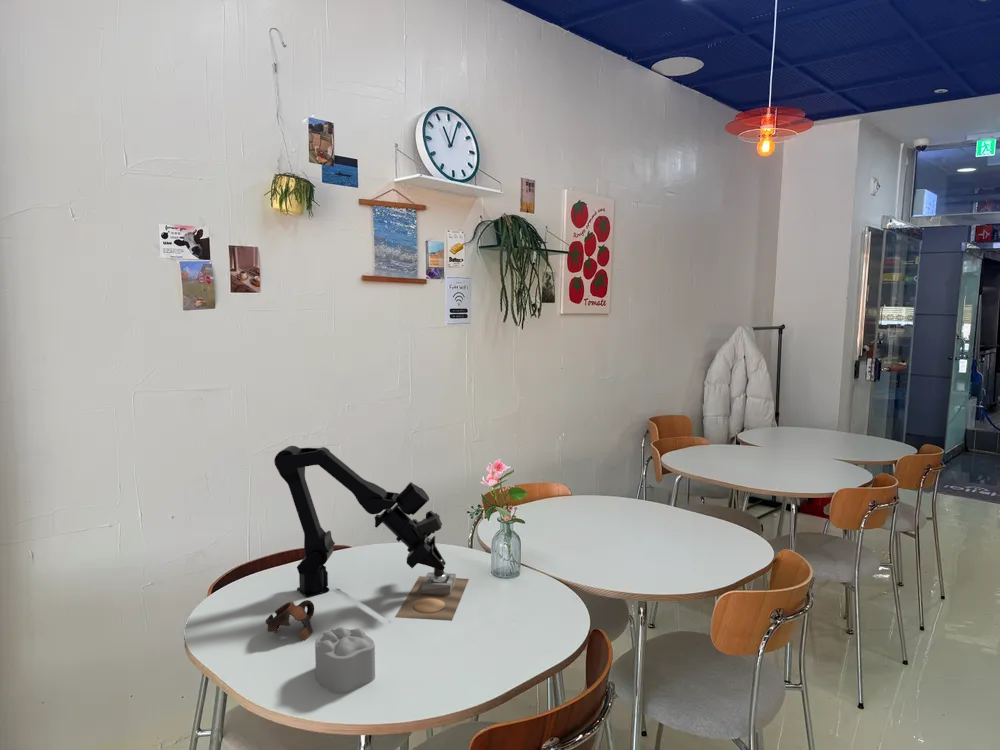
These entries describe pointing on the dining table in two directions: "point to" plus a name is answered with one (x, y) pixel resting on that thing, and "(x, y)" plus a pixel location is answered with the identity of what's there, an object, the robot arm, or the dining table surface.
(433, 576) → the nail polish bottle
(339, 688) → the grey paw block
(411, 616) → the brown wooden board
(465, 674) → the dining table surface
